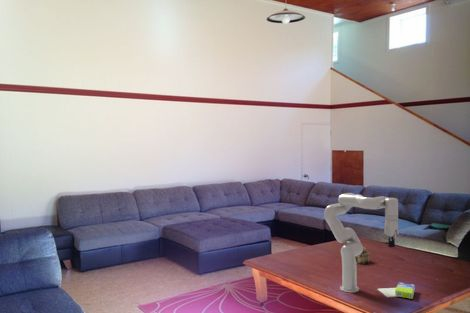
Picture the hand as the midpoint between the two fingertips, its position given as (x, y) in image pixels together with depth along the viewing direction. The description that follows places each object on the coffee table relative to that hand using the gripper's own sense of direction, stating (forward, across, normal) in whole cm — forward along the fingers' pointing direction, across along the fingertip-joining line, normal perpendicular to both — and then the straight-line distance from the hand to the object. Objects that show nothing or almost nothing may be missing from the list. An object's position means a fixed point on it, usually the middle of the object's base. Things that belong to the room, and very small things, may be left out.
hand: (391, 246), depth 247 cm
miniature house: (+36, -85, +14) cm, 93 cm away
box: (+32, -4, +10) cm, 34 cm away
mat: (+35, -15, +9) cm, 39 cm away
